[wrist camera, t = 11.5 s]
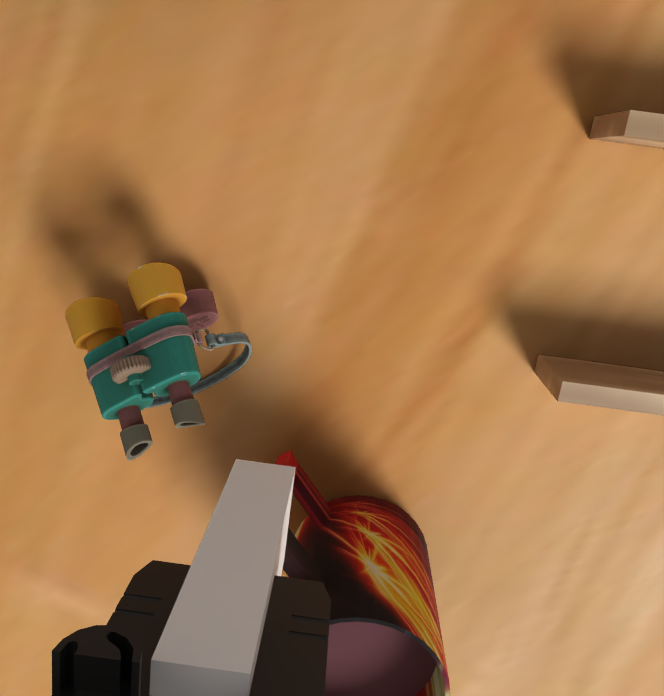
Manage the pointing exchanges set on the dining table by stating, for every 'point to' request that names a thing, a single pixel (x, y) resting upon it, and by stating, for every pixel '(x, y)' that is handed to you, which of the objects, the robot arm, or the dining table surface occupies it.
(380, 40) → the dining table surface
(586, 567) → the dining table surface
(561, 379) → the bay
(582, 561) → the dining table surface
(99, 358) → the binoculars
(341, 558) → the mug
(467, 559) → the dining table surface
